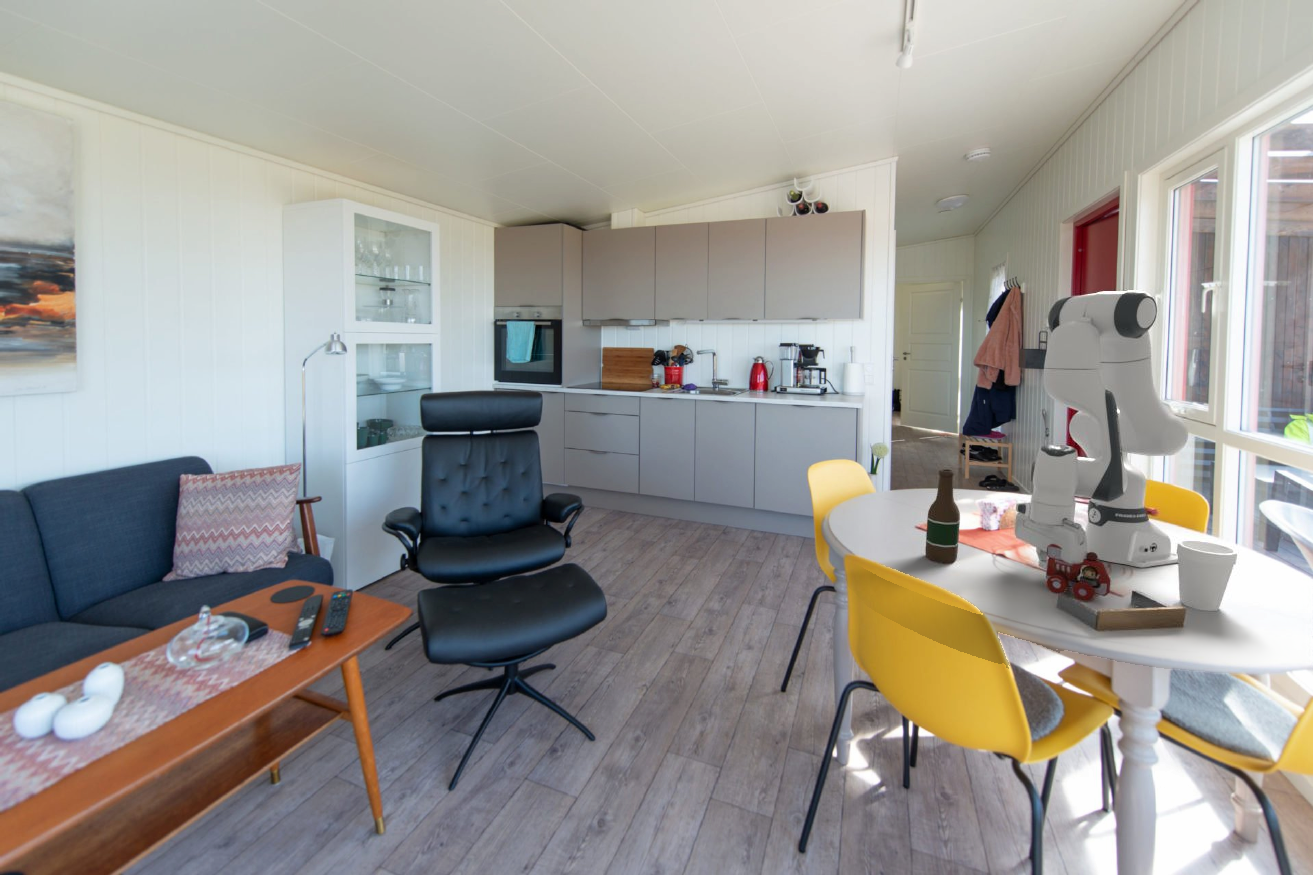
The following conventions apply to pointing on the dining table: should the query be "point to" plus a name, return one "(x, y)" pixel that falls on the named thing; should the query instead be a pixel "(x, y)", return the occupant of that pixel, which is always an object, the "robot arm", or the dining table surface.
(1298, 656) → the dining table surface
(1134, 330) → the robot arm
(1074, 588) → the toy fire truck
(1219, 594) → the foam cup
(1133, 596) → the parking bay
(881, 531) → the dining table surface
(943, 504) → the beer bottle
